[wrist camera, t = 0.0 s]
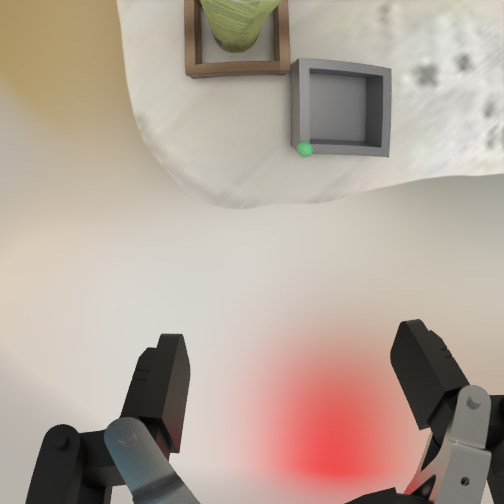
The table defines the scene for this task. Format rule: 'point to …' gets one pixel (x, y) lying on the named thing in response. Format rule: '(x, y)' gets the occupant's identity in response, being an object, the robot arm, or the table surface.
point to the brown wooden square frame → (234, 68)
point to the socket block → (340, 108)
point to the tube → (237, 21)
